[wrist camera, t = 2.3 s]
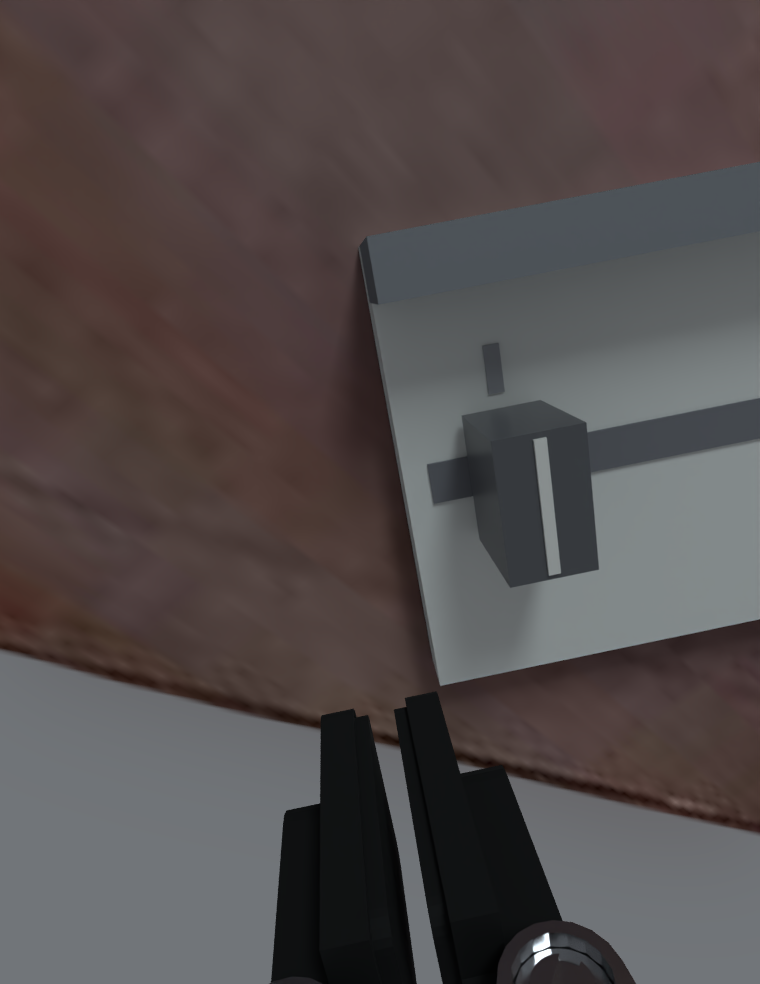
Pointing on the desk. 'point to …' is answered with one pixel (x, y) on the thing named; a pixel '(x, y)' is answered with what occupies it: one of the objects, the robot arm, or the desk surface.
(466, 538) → the console
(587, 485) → the fader knob
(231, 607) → the desk surface
